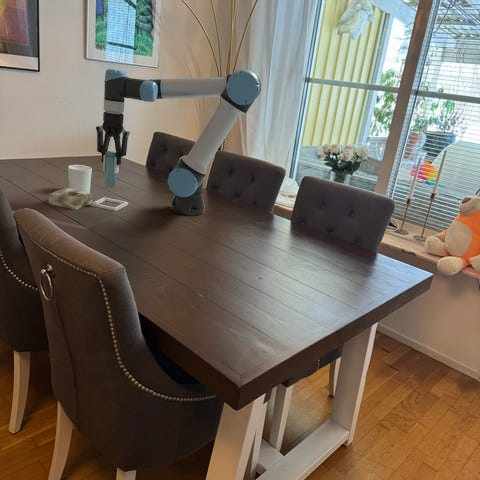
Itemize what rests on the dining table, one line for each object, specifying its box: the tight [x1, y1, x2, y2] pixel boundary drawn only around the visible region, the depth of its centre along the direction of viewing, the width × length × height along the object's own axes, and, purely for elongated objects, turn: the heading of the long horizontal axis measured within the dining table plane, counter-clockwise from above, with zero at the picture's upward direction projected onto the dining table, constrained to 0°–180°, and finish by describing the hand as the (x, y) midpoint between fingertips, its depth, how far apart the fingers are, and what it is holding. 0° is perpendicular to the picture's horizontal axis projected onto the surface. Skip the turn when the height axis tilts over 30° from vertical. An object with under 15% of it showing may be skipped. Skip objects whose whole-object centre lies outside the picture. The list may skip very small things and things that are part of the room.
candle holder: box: [67, 164, 93, 193], centre depth 194 cm, size 10×10×12 cm
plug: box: [104, 150, 117, 189], centre depth 180 cm, size 5×5×14 cm
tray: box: [90, 196, 129, 212], centre depth 185 cm, size 11×11×2 cm
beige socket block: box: [47, 187, 94, 211], centre depth 179 cm, size 12×12×5 cm
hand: (110, 171), depth 180 cm, fingers closed on plug, 4 cm apart
